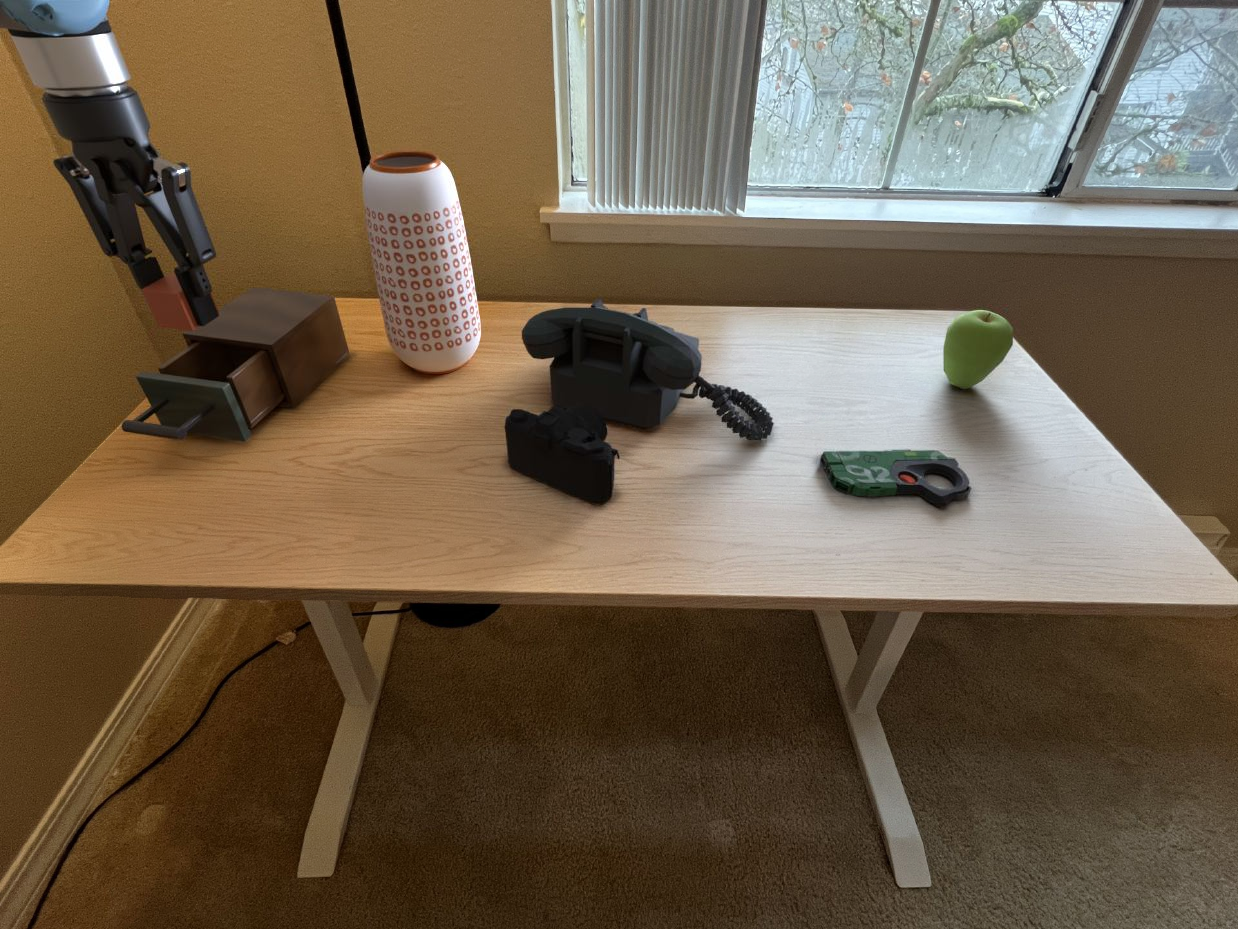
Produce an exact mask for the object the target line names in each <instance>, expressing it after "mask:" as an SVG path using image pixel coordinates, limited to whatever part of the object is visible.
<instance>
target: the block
mask: <svg viewBox="0 0 1238 929" xmlns="http://www.w3.org/2000/svg"><path fill="white" fill-rule="evenodd" d="M140 291H141V293H142V295H143V297H144V300H145V301H146V304H147V306H148V308H149V310H150V312H151V314H152V316H153V318H154V320H155V323H156V324H157V327H160V328H166V329H173V330H174V329H175V330H181V331H182V330H183V331H187V330H189V331H194V330H196V329H197V328H199V327H200V326H198V325H197V323H196V320H195V318H194V316H193V313H192V311H191V309H190V306H189V304H188V302H187V300H186V297H185V295H184V293H183V291H182V289H181V286H180V284H179V282H178V279H177V277H176V275H175V273H168V274H167V275H164V277H163V278H161V279H160V280H158V281H156V282H154V283H152V284H150V285H149V286H147V287H145V288H143V289H140ZM210 294H211V297H212V299H213V302H214V304H215V306H216V309H217V311H218V310H219V309H218V307H217V304H216V301H215V298H214V296H213V293H212V292H211V293H210ZM218 314H219V311H218Z"/></svg>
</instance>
